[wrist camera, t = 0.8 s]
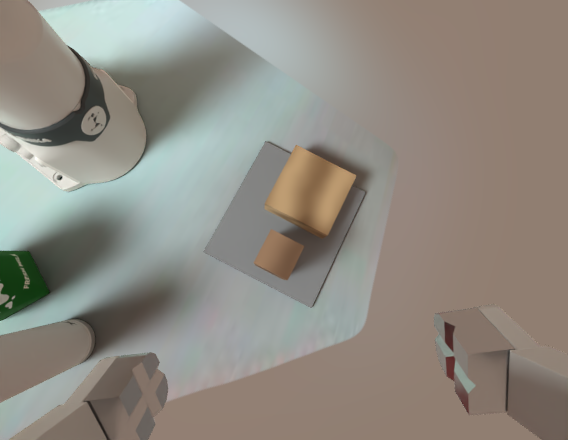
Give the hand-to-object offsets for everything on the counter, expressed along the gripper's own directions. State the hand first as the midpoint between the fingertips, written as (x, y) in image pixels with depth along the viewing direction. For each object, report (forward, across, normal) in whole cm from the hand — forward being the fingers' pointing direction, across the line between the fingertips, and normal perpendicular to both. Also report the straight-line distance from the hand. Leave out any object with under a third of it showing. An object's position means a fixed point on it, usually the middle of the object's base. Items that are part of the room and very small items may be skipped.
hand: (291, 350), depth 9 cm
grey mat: (+38, +3, +9) cm, 39 cm away
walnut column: (+34, +6, +13) cm, 37 cm away
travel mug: (+26, +35, +17) cm, 47 cm away
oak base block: (+40, 0, +6) cm, 40 cm away
